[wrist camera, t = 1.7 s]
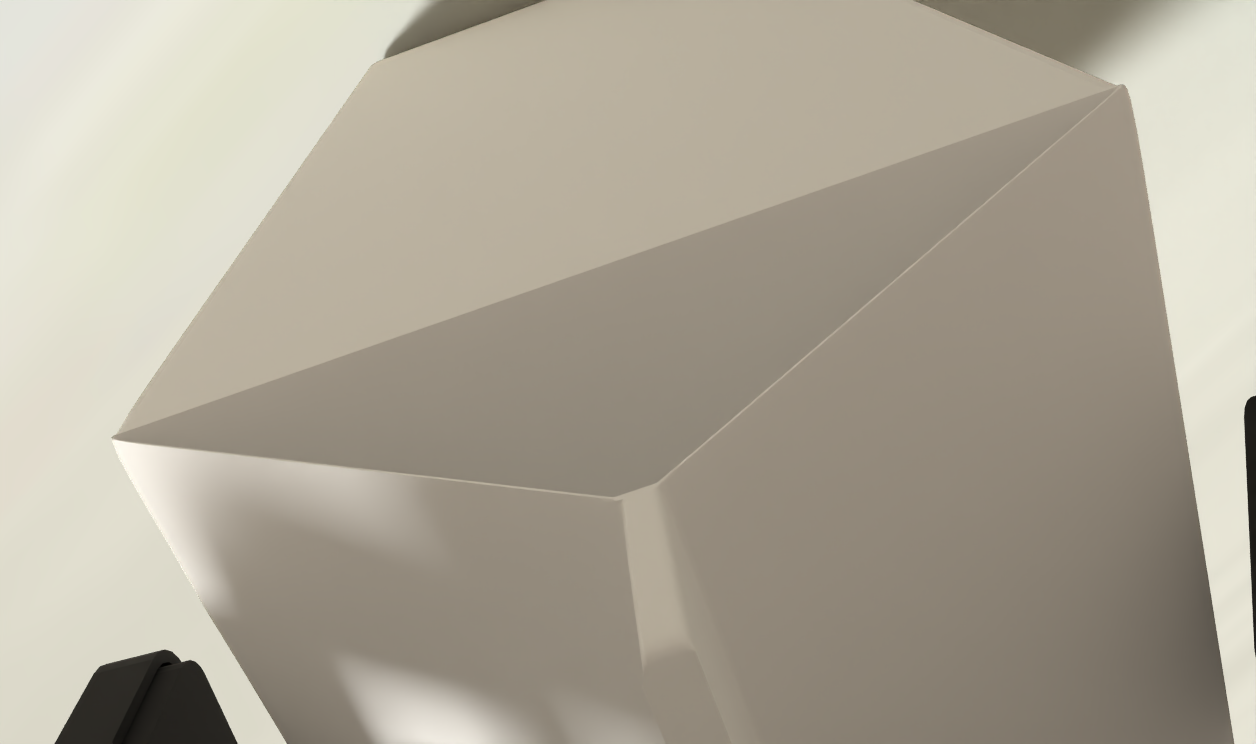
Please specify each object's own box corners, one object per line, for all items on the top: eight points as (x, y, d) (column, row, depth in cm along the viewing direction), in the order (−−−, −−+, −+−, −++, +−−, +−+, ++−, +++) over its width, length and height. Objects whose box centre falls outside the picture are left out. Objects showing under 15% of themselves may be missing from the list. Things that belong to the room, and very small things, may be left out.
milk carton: (744, -75, 21) (1713, 309, 4) (843, 281, 24) (1651, 1420, 7) (369, 61, 22) (-278, 957, 4) (511, 395, 24) (466, 1734, 7)
